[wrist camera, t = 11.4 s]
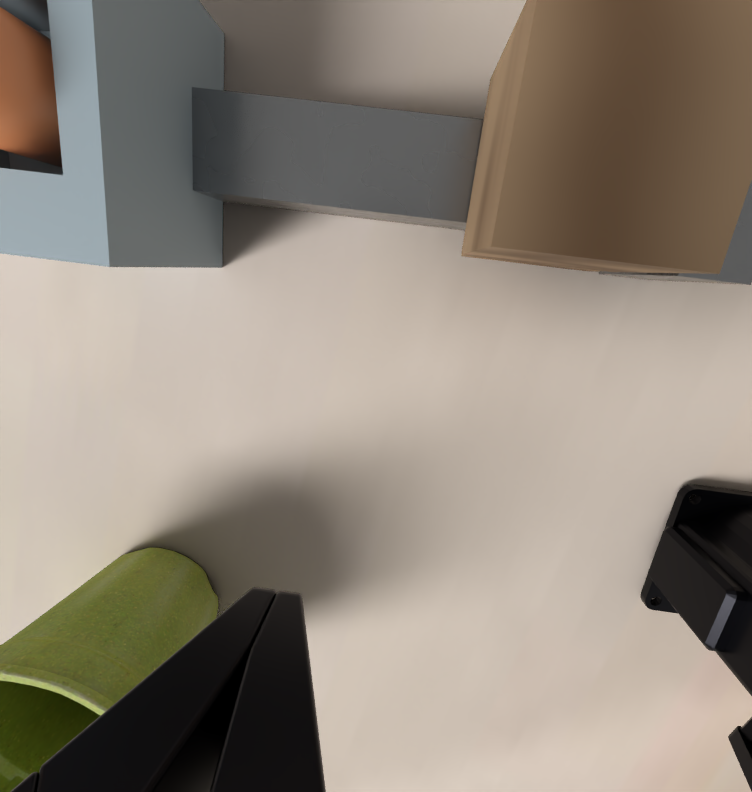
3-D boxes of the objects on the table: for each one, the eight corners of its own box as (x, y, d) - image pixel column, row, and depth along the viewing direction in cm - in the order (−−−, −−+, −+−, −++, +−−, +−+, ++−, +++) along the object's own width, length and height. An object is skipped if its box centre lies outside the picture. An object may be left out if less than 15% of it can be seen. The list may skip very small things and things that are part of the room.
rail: (692, 135, 15) (827, 73, 10) (650, 280, 17) (750, 284, 12) (197, 80, 16) (105, -4, 11) (198, 225, 17) (118, 208, 12)
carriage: (632, 115, 14) (815, -7, 8) (592, 271, 15) (719, 273, 9) (481, 98, 14) (543, -35, 8) (456, 255, 16) (491, 246, 9)
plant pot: (99, 486, 21) (-101, 630, 13) (276, 560, 21) (197, 744, 13) (61, 622, 24) (-125, 814, 15) (220, 684, 24) (124, 901, 16)
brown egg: (108, 54, 12) (-15, -34, 8) (115, 174, 13) (7, 138, 9) (3, 43, 12) (-161, -50, 8) (17, 162, 13) (-127, 122, 9)
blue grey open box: (224, 34, 15) (81, -154, 8) (222, 267, 17) (109, 266, 11) (60, 16, 15) (-210, -183, 9) (79, 250, 18) (-119, 238, 11)
